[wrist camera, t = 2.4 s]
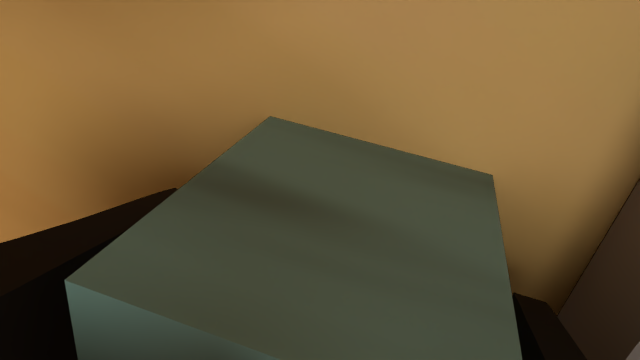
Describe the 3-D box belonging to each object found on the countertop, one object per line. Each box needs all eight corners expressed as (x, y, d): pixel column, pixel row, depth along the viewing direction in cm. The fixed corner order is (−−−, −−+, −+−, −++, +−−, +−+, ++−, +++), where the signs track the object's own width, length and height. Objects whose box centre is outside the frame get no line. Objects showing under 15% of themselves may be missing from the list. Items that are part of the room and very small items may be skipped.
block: (425, 337, 11) (399, 644, 6) (252, 279, 12) (102, 506, 7) (492, 174, 9) (537, 454, 4) (271, 115, 10) (63, 280, 5)
